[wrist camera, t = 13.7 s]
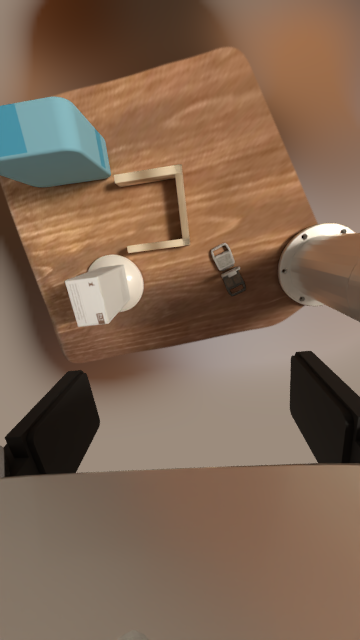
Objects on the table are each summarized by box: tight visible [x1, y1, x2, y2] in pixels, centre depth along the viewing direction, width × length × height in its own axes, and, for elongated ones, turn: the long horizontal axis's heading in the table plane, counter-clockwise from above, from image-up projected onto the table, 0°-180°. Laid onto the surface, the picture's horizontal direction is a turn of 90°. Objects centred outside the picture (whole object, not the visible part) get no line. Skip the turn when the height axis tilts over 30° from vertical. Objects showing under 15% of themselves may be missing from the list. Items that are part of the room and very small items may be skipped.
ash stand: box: [114, 164, 190, 253], centre depth 35 cm, size 10×10×2 cm
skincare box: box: [65, 265, 130, 327], centre depth 34 cm, size 6×4×12 cm
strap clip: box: [211, 243, 246, 296], centre depth 37 cm, size 8×3×4 cm, turn 27°
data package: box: [0, 97, 111, 187], centre depth 29 cm, size 12×4×12 cm, turn 96°
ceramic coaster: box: [88, 255, 144, 312], centre depth 40 cm, size 10×10×1 cm
